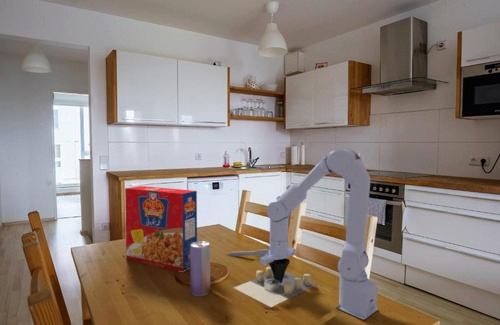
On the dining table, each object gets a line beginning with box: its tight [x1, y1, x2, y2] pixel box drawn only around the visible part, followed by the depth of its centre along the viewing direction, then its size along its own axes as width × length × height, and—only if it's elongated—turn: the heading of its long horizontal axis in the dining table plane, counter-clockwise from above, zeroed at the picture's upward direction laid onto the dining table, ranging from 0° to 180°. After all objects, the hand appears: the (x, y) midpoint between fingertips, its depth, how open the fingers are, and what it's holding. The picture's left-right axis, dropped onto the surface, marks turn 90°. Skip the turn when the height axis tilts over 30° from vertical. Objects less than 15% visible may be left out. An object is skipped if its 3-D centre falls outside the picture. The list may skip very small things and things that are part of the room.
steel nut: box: [264, 278, 280, 292], centre depth 99 cm, size 5×4×2 cm
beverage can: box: [189, 240, 211, 297], centre depth 97 cm, size 6×6×15 cm
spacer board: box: [233, 266, 317, 308], centre depth 100 cm, size 16×21×4 cm
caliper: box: [226, 245, 270, 258], centre depth 127 cm, size 20×1×6 cm, turn 66°
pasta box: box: [124, 185, 198, 272], centre depth 122 cm, size 28×8×28 cm, turn 63°
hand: (278, 281), depth 101 cm, fingers closed
